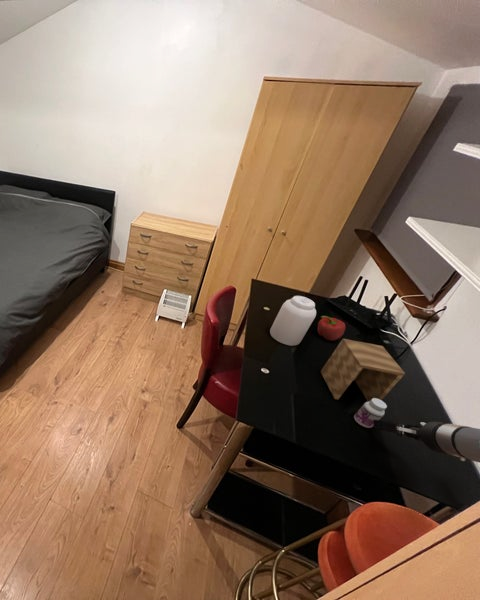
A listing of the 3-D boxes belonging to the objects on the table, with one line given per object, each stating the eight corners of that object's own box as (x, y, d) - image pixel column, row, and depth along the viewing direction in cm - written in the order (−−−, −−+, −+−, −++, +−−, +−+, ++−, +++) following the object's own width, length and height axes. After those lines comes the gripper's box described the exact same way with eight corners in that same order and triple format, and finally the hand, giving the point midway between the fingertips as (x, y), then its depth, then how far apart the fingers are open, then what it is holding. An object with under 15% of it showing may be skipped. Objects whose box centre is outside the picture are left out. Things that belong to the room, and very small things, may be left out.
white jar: (278, 325, 152) (296, 289, 141) (305, 340, 143) (327, 303, 132) (263, 333, 146) (281, 296, 135) (291, 350, 137) (312, 312, 126)
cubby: (374, 407, 114) (405, 373, 104) (334, 398, 116) (360, 364, 106) (356, 379, 125) (382, 346, 116) (320, 371, 127) (342, 338, 118)
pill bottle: (350, 413, 111) (366, 394, 106) (367, 417, 110) (384, 398, 105) (357, 426, 106) (374, 407, 101) (375, 430, 106) (393, 411, 100)
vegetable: (313, 339, 145) (323, 321, 139) (309, 326, 153) (319, 309, 147) (341, 346, 142) (353, 329, 136) (336, 333, 150) (347, 316, 144)
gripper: (420, 448, 80) (353, 431, 103) (481, 462, 78) (399, 441, 101) (421, 417, 82) (354, 407, 105) (480, 430, 80) (399, 417, 103)
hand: (376, 424), depth 103 cm, fingers closed
